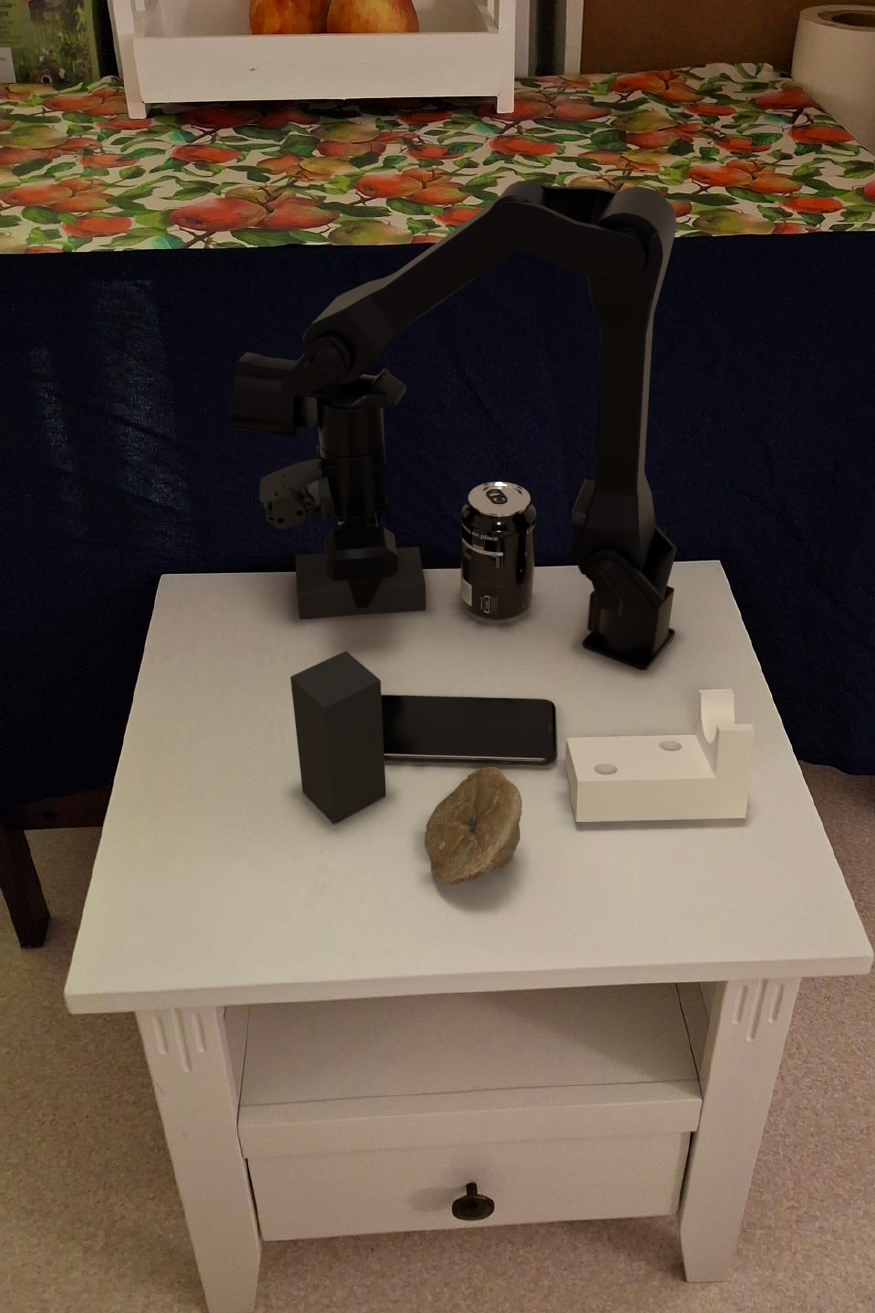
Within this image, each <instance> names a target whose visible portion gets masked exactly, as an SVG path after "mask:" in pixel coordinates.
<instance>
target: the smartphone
mask: <svg viewBox="0 0 875 1313" xmlns="http://www.w3.org/2000/svg"><path fill="white" fill-rule="evenodd" d="M381 701H382V722H383V744H384V762H397V763H399V762H400V763H434V764H437V763H438V764H464V765H465V764H466V765H467V764H468V765H469V764H470V765H499V766H500V765H502V766H503V765H504V766H505V765H507V766H535V767H537V766H539V767H545V766H550V765H553V764H554V763H555V762H556V761H557V758H558V726H557V725H558V724H557V723H558V722H557V707H556V704H555V703H554V702H553V701H552V700H549V699H546V698H522V697H521V698H520V697H484V696H483V697H482V696H448V695H447V696H446V695H445V696H444V695H442V696H441V695H407V694H405V695H403V694H381Z"/></svg>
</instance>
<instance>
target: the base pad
mask: <svg viewBox="0 0 875 1313" xmlns="http://www.w3.org/2000/svg"><path fill="white" fill-rule="evenodd" d="M396 551H397V563H398V573H397V574H396V575H394V576H393V577H385V578H383V580H382V582H381V584H380V586H379V587H378V589H377V591H376V593H375V595H374V597H373V599H372V601H371V603H370V605H369V607H367V608H357V607H356V604H355V601H354V598H353V596H352V593H351V590H350V587H349V584H348V581H347V580H342V581H333V580H331V579H328V578H327V571H326V558H325V552H317V553H305V554H295V557H294V558H295V559H294V560H295V581H296V582H295V583H296V584H295V585H296V601H297V610H298V612H297V613H298V618H299V620H307V619H308V620H309V619H319V618H321V619H322V618H334V617H335V618H336V617H350V616H363V615H377V614H378V615H379V614H392V613H406V612H419V611H421V612H422V611H426V609H427V608H426V607H427V606H426V605H427V604H426V603H427V602H426V601H427V600H426V580H425V575H424V570H423V564H422V563H423V562H422V558H421V554H420V553H421V552H420V547H419V546H412V547H411V546H408V547H407V546H406V547H396Z"/></svg>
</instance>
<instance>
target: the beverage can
mask: <svg viewBox="0 0 875 1313" xmlns="http://www.w3.org/2000/svg"><path fill="white" fill-rule="evenodd" d="M467 498H468V499H467V501H466V502H465V503H464V504H463V506H462V508H461V512H460V513H461V514H460V602H461V603H462V606H463V608H465V610H467V612H469V613H471V614H472V615H473V616H476V617H477V618H480V619H483V620H486V621H492V622H502V621H508V620H510V619H515V618H517V617H519V616H521V615H522V614H524V613H525V612H527V610H528V609H529V608H530V606H531V605H532V602H533V593H534V578H535V560H536V558H535V557H536V540H537V539H536V537H537V536H536V535H537V522H538V521H537V509H536V507H535V505H534V504H533V503H532V502H531V494H530V493H529V492H528V490H526V489H525V488H524V487H522V486H520V485H519V484H515V483H511V482H506V481H491V482H486V483H481V484H479V485H477V486H475V487H474V488H473V489H471V491H470V492H469V493H468V496H467Z"/></svg>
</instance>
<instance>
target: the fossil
mask: <svg viewBox="0 0 875 1313" xmlns="http://www.w3.org/2000/svg"><path fill="white" fill-rule="evenodd" d="M466 777H467V778H464V779H462V781H461V782H460V783H459V785H458V786H457V787H456V788H455V789H454V790H453V791H452V792H450V794H448V795H447V796H446V797H445V798H444V799H442V801H441V802H439V803H438V804H437V805H436V806H435V808H434V810H433V811H432V813H431V815H430V817H429V819H428V821H427V823H426V827H425V828H426V829H425V830H426V831H425V833H424V844H425V848H426V849H427V852H428V854H430V870H431V873H432V874H433V876H434V878H435V880H436V881H438V882H439V883H442V884H444V885H447V886H456V885H460V884H462V883H466V882H468V881H472V880H475V879H478V878H480V877H481V876H483V875H485V874H487V873H488V872H492V871H495V870H498V869H503V868H505V867H506V866H508V865H509V864H510V863H511V862H512V860H513V858H514V853H515V852H516V850H517V846H518V845H519V844H520V840H521V829H520V822H521V817H522V813H523V800H522V796H521V793H520V790H519V789H518V787H517V786H516V785H515V783H513V782H511V781H510V780H509V779H508V778H506V776H505V775H504V774H503V772H502V771H501V769H499V768H498V767H494V766H485V767H481V768H478V769H477V770H475V771H474V772H471V773H470V774H468V775H467V776H466Z"/></svg>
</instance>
